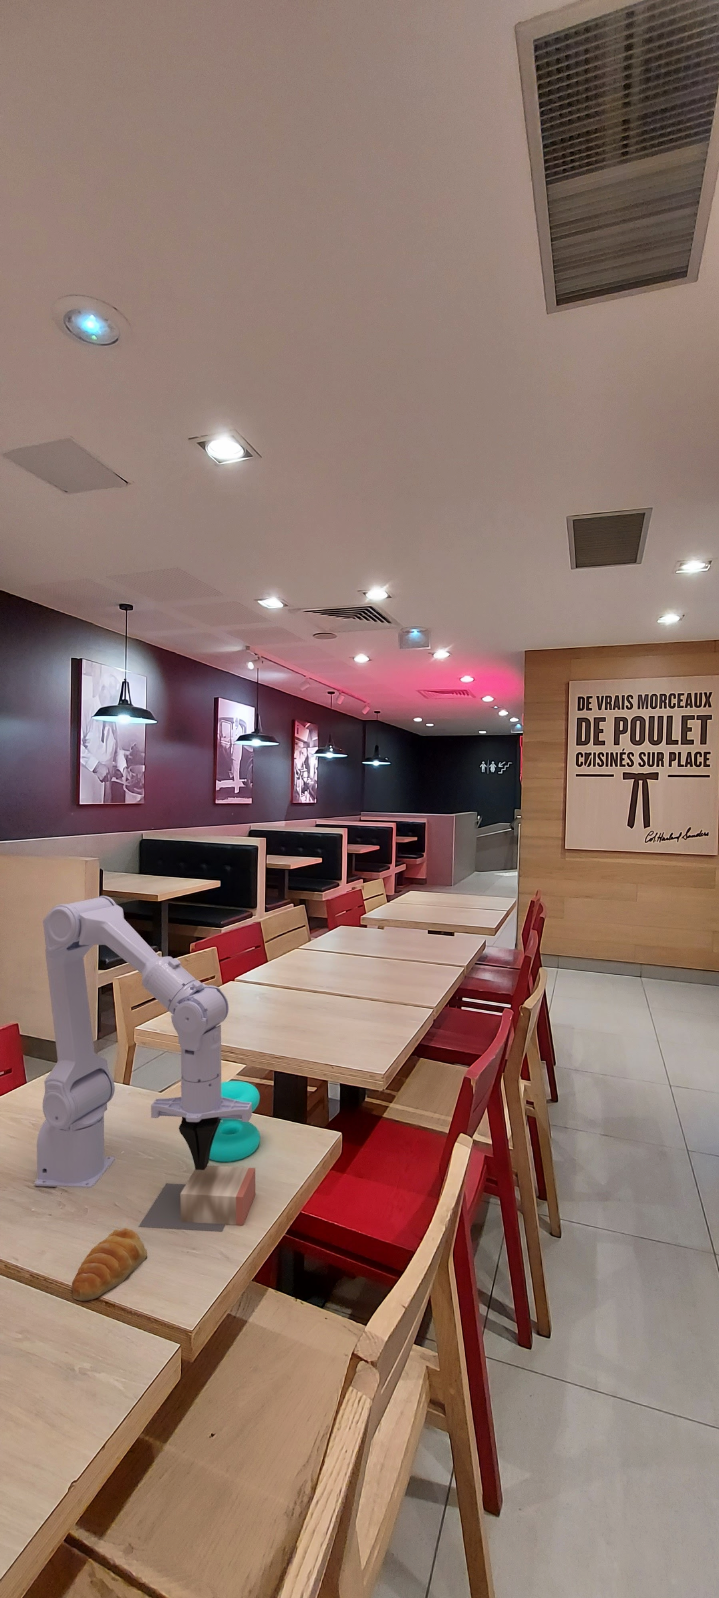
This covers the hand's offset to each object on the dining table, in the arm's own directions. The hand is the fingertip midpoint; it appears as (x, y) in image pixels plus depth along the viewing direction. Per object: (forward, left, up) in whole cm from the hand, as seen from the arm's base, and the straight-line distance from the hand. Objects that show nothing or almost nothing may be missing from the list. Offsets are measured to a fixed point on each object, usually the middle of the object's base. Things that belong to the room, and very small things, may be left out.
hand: (202, 1166), depth 95 cm
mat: (-2, 0, -6) cm, 7 cm away
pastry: (-8, -13, -7) cm, 17 cm away
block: (-2, 0, -4) cm, 4 cm away
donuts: (-1, +16, -7) cm, 17 cm away
